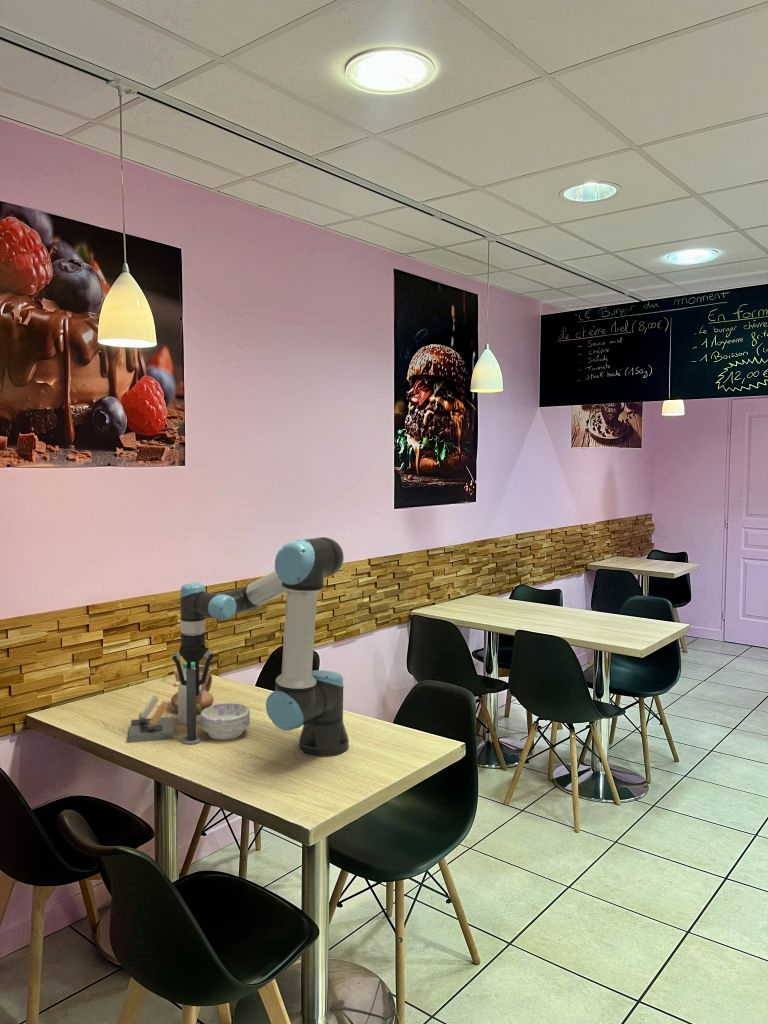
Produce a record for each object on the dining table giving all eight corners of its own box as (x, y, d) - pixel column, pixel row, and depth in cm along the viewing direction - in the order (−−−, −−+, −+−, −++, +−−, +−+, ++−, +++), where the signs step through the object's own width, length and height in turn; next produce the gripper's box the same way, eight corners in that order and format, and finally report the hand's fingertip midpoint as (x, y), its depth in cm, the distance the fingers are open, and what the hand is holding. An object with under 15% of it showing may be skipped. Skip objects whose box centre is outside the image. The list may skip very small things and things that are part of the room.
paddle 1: (142, 724, 242) (158, 701, 242) (137, 721, 241) (153, 698, 242) (143, 719, 246) (158, 697, 247) (138, 716, 246) (153, 694, 246)
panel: (173, 738, 236) (173, 730, 236) (129, 742, 232) (129, 734, 232) (173, 723, 249) (173, 716, 249) (131, 727, 246) (131, 719, 246)
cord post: (202, 743, 232) (201, 672, 230) (181, 745, 230) (181, 673, 229) (201, 736, 238) (200, 666, 236) (181, 738, 236) (180, 668, 235)
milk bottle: (177, 726, 247) (176, 665, 246) (178, 718, 255) (178, 659, 253) (201, 724, 249) (201, 664, 247) (202, 716, 256) (202, 658, 255)
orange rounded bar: (152, 731, 236) (168, 707, 237) (146, 728, 235) (162, 704, 236) (152, 726, 240) (168, 703, 241) (147, 723, 240) (162, 700, 240)
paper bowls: (200, 745, 231) (200, 720, 230) (201, 728, 245) (200, 704, 245) (251, 741, 234) (251, 716, 234) (248, 725, 249) (248, 701, 248)
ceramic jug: (189, 719, 254) (190, 677, 253) (158, 711, 261) (159, 670, 260) (226, 706, 269) (227, 666, 268) (196, 698, 276) (197, 660, 276)
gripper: (213, 629, 245) (213, 700, 246) (171, 631, 241) (172, 703, 243) (214, 634, 237) (214, 708, 239) (171, 636, 234) (171, 711, 236)
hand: (193, 705), depth 241 cm, fingers closed
